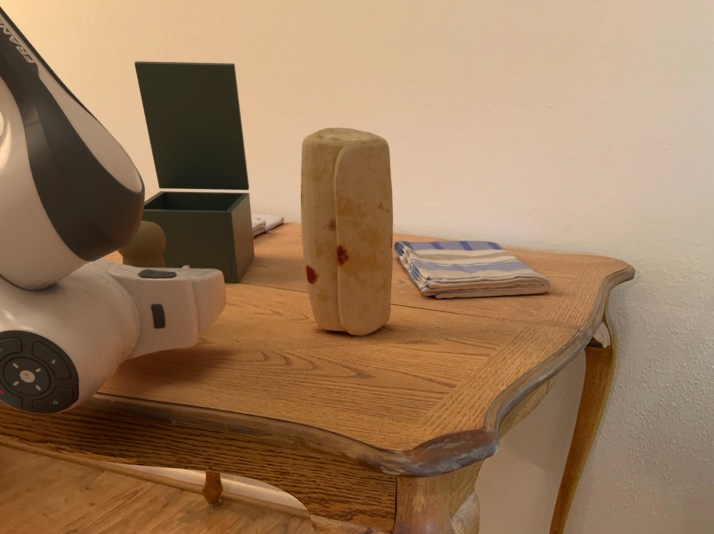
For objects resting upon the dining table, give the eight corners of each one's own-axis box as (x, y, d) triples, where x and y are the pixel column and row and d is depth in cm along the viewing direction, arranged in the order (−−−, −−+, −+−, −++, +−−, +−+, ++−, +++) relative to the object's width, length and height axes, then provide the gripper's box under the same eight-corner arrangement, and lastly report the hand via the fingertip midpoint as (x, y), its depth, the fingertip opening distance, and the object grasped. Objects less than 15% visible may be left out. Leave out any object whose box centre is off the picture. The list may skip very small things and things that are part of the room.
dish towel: (422, 300, 96) (423, 278, 95) (390, 256, 116) (390, 236, 114) (553, 296, 99) (556, 274, 98) (500, 253, 118) (502, 234, 117)
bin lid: (233, 65, 97) (239, 54, 101) (134, 62, 97) (143, 52, 101) (248, 190, 108) (253, 177, 112) (159, 188, 108) (166, 175, 112)
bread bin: (238, 283, 102) (231, 212, 97) (142, 281, 101) (130, 210, 96) (254, 256, 114) (249, 192, 109) (169, 255, 113) (160, 191, 109)
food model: (384, 317, 90) (384, 125, 79) (400, 335, 85) (403, 131, 74) (302, 323, 88) (291, 126, 77) (313, 342, 82) (303, 132, 71)
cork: (129, 337, 82) (110, 229, 76) (122, 321, 87) (103, 218, 81) (186, 331, 84) (171, 225, 78) (176, 316, 89) (161, 215, 83)
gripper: (-11, 343, 71) (46, 300, 82) (212, 347, 71) (237, 303, 83) (-30, 273, 67) (31, 238, 79) (204, 277, 68) (231, 242, 79)
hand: (138, 272), depth 81 cm, fingers open, 8 cm apart
